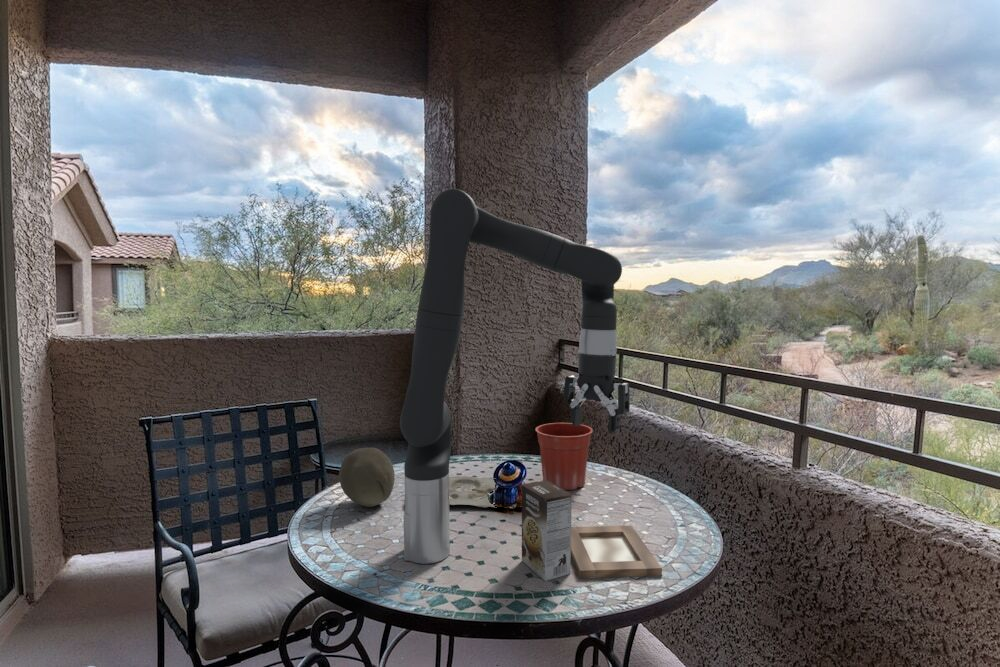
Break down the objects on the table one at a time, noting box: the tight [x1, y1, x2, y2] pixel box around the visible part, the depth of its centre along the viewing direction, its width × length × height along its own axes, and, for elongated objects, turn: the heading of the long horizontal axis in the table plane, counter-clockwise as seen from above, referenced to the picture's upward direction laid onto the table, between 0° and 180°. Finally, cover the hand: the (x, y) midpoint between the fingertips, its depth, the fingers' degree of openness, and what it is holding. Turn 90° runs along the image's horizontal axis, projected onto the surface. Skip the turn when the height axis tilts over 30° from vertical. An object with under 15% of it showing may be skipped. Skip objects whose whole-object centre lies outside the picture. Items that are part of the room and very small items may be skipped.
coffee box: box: [521, 480, 573, 582], centre depth 103 cm, size 9×6×16 cm
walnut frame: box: [571, 524, 663, 579], centre depth 109 cm, size 16×19×2 cm
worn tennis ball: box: [338, 447, 396, 508], centre depth 134 cm, size 14×14×15 cm
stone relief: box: [449, 475, 496, 508], centre depth 141 cm, size 32×3×20 cm
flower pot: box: [535, 422, 593, 491], centre depth 150 cm, size 16×16×16 cm
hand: (594, 429), depth 107 cm, fingers open, 8 cm apart
